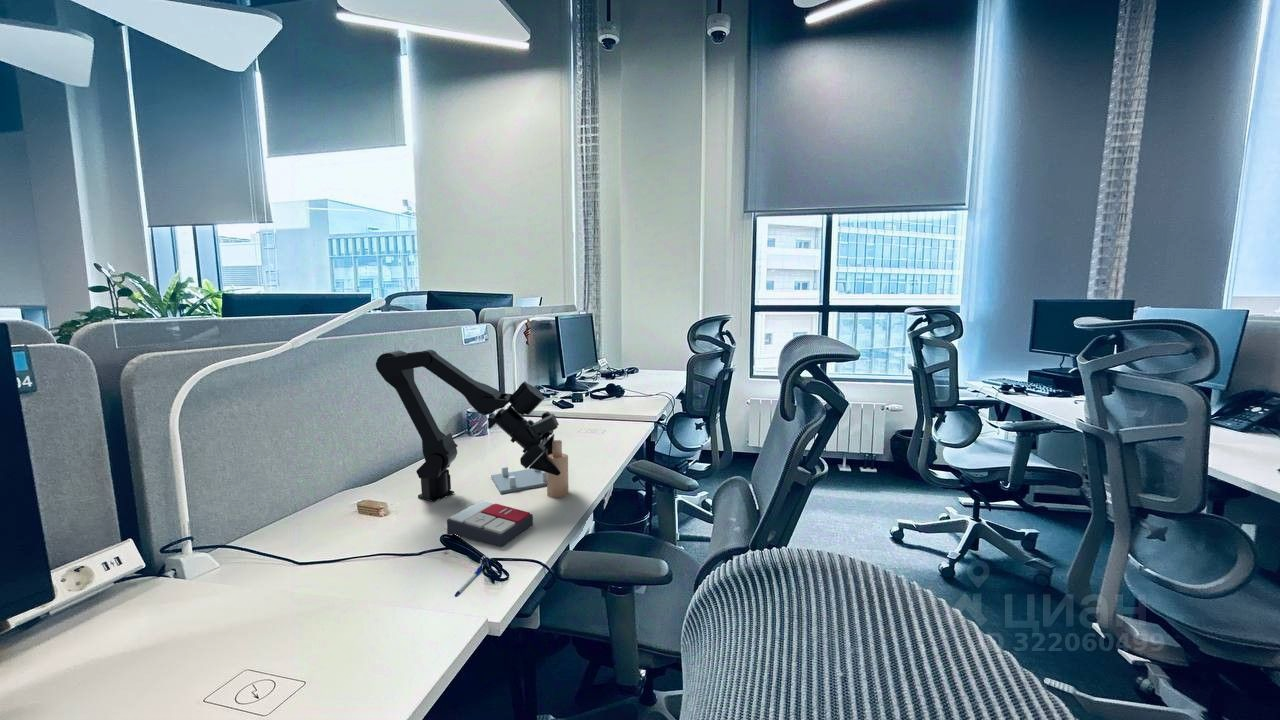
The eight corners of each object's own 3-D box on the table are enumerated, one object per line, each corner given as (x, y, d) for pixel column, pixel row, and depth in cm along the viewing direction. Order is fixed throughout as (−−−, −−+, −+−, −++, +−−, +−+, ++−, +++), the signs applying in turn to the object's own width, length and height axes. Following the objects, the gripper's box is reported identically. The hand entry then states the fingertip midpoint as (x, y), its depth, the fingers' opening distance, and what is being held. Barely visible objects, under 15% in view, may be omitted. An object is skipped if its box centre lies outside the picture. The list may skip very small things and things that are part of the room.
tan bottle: (559, 499, 126) (558, 445, 124) (542, 495, 128) (541, 442, 127) (572, 491, 131) (572, 440, 129) (556, 488, 133) (555, 437, 131)
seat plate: (500, 493, 129) (500, 481, 129) (491, 478, 141) (490, 466, 140) (559, 483, 137) (559, 471, 136) (546, 468, 148) (545, 458, 148)
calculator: (501, 532, 101) (445, 516, 107) (501, 552, 102) (446, 534, 108) (533, 511, 111) (481, 497, 117) (533, 529, 112) (481, 514, 118)
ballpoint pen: (483, 564, 96) (483, 559, 95) (487, 565, 95) (487, 560, 95) (454, 597, 85) (454, 591, 85) (458, 598, 85) (458, 592, 85)
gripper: (532, 413, 117) (580, 457, 119) (544, 397, 136) (585, 436, 137) (499, 446, 118) (548, 490, 120) (516, 426, 136) (558, 464, 138)
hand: (561, 467), depth 129 cm, fingers open, 9 cm apart
